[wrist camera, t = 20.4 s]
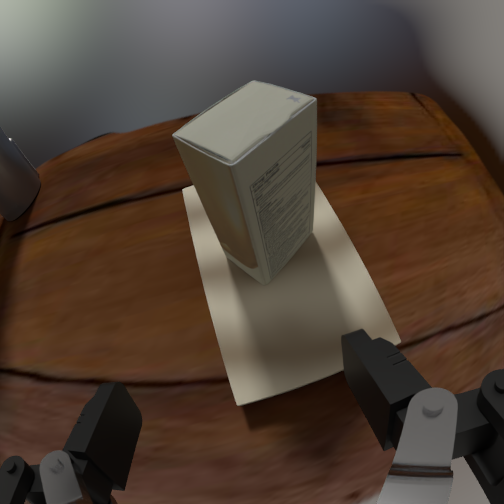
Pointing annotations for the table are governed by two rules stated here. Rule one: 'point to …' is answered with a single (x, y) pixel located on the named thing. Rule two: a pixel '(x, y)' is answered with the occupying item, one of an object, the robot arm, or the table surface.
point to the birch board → (287, 306)
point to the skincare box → (255, 173)
